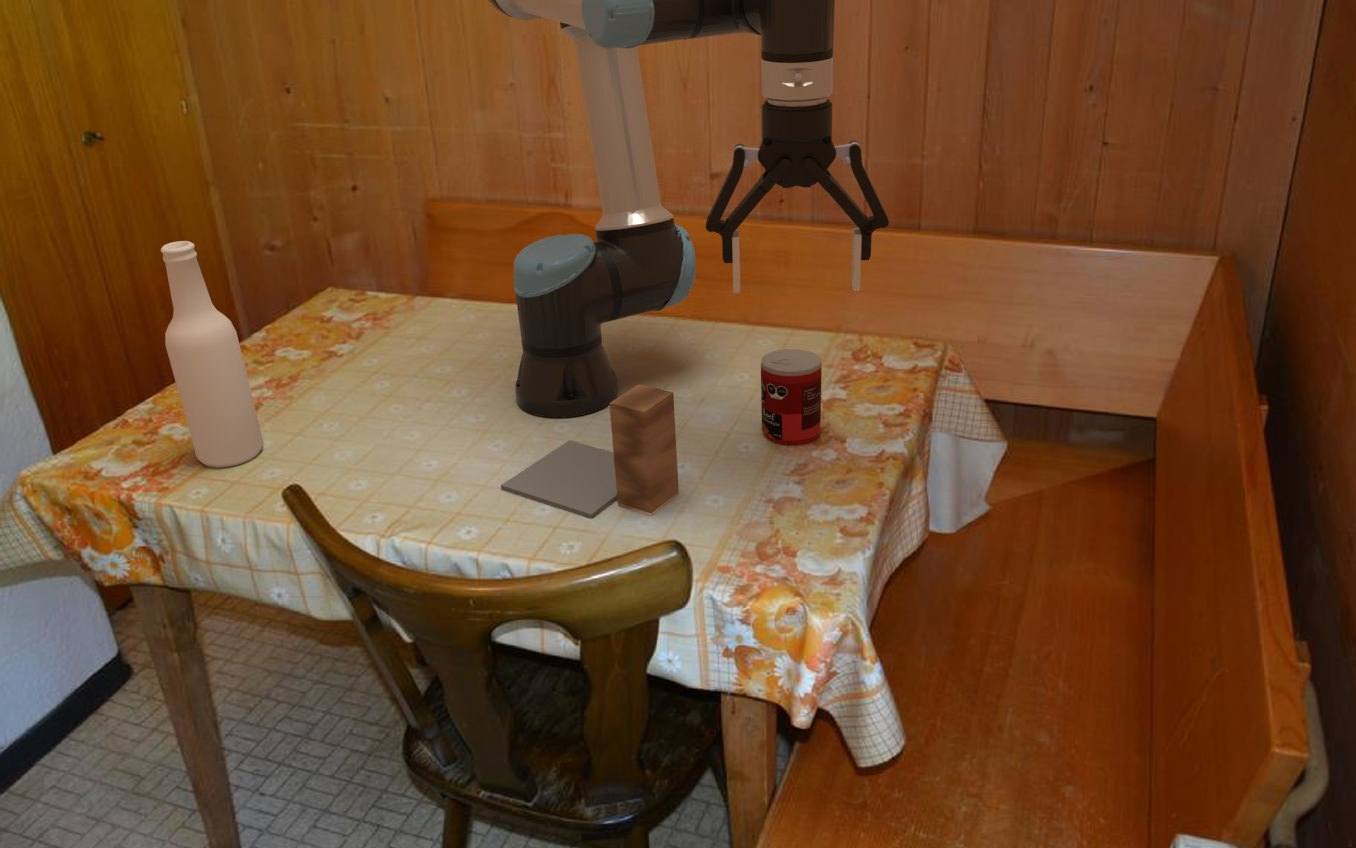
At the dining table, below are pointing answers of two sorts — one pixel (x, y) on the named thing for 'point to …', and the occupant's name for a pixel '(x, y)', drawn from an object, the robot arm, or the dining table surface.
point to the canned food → (791, 396)
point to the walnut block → (644, 449)
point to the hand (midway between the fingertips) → (795, 288)
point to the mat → (570, 479)
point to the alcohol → (208, 367)
